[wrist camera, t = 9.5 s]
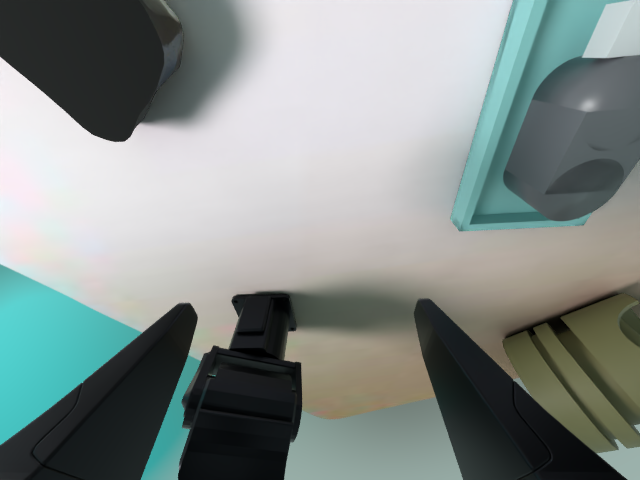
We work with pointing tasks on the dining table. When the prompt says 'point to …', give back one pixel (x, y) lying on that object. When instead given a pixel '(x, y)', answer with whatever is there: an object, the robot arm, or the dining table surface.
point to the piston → (586, 372)
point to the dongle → (583, 123)
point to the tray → (519, 108)
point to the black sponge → (94, 56)
